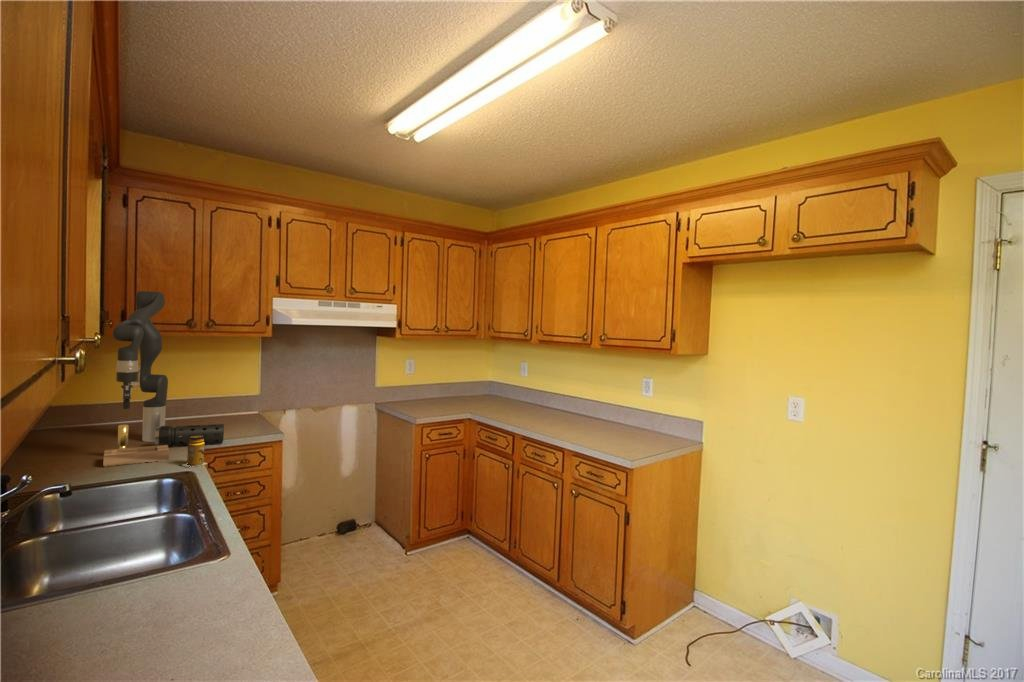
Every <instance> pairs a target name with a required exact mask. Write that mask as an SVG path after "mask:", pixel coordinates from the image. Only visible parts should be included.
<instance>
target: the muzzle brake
mask: <svg viewBox="0 0 1024 682" xmlns="http://www.w3.org/2000/svg"><path fill="white" fill-rule="evenodd" d="M224 433H225V424H224V423H215V424H195V425H194V424H193V425H191V424H190V425H176V426H172V425H165V426H161V427H158V428H156V429H155V438H154V446H159V445H168V447H169V446H170V447H171V448H173V447H172V446H178V447H180V446H182V445H183V446H185V445H187V446H188V443H189V438H190V437H191V436H198V435H200V436H204V443H205V445H217V444H218V445H219V444H223V442H224Z"/></svg>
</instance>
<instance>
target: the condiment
mask: <svg viewBox="0 0 1024 682" xmlns="http://www.w3.org/2000/svg"><path fill="white" fill-rule="evenodd" d="M205 446H206V444H205V443H204V436H200V435H198V436H191V437H190V438H189V443H188V444H187V460H186V461H187V462H186V463H188V464H187V465H190V467H189V468H194V467H200V466H204V465H208V462H205ZM191 466H192V467H191Z"/></svg>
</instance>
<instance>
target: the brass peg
mask: <svg viewBox="0 0 1024 682" xmlns="http://www.w3.org/2000/svg"><path fill="white" fill-rule="evenodd" d="M129 426H130V425H129V424H118V426H117V446H119V448H118V449H124V448H127V445H129V429H130V428H129Z"/></svg>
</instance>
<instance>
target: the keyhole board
mask: <svg viewBox="0 0 1024 682" xmlns="http://www.w3.org/2000/svg"><path fill="white" fill-rule="evenodd" d="M169 448H170V447H169V446H168V445H152V446H151V445H150V446H139V447H137V446H136V447H126V448H124V449H119V448H116V449H115V448H114V449H105V450H104V453H103V465H102V467H103V466H107V465H116V464H125V463H138V462H151V461H162V462H164V461H163V460H169V461H170V449H169Z"/></svg>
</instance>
